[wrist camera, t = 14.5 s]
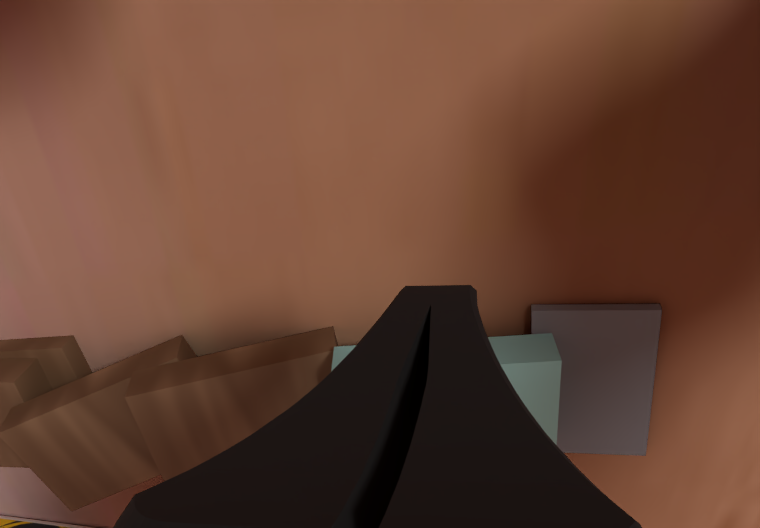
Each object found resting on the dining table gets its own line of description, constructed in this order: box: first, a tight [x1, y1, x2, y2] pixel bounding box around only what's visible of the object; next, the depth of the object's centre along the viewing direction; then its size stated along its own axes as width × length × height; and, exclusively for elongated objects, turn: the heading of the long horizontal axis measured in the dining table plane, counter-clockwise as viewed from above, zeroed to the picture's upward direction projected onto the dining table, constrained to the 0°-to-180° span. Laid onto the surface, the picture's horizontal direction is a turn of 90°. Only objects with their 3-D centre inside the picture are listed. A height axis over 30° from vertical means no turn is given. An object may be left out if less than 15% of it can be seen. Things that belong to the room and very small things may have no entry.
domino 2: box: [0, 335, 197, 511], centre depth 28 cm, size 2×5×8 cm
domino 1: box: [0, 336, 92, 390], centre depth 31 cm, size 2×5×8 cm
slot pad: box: [531, 304, 662, 456], centre depth 25 cm, size 4×7×1 cm, turn 6°
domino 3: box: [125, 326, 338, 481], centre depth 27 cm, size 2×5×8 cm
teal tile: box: [331, 333, 562, 445], centre depth 25 cm, size 2×5×8 cm
